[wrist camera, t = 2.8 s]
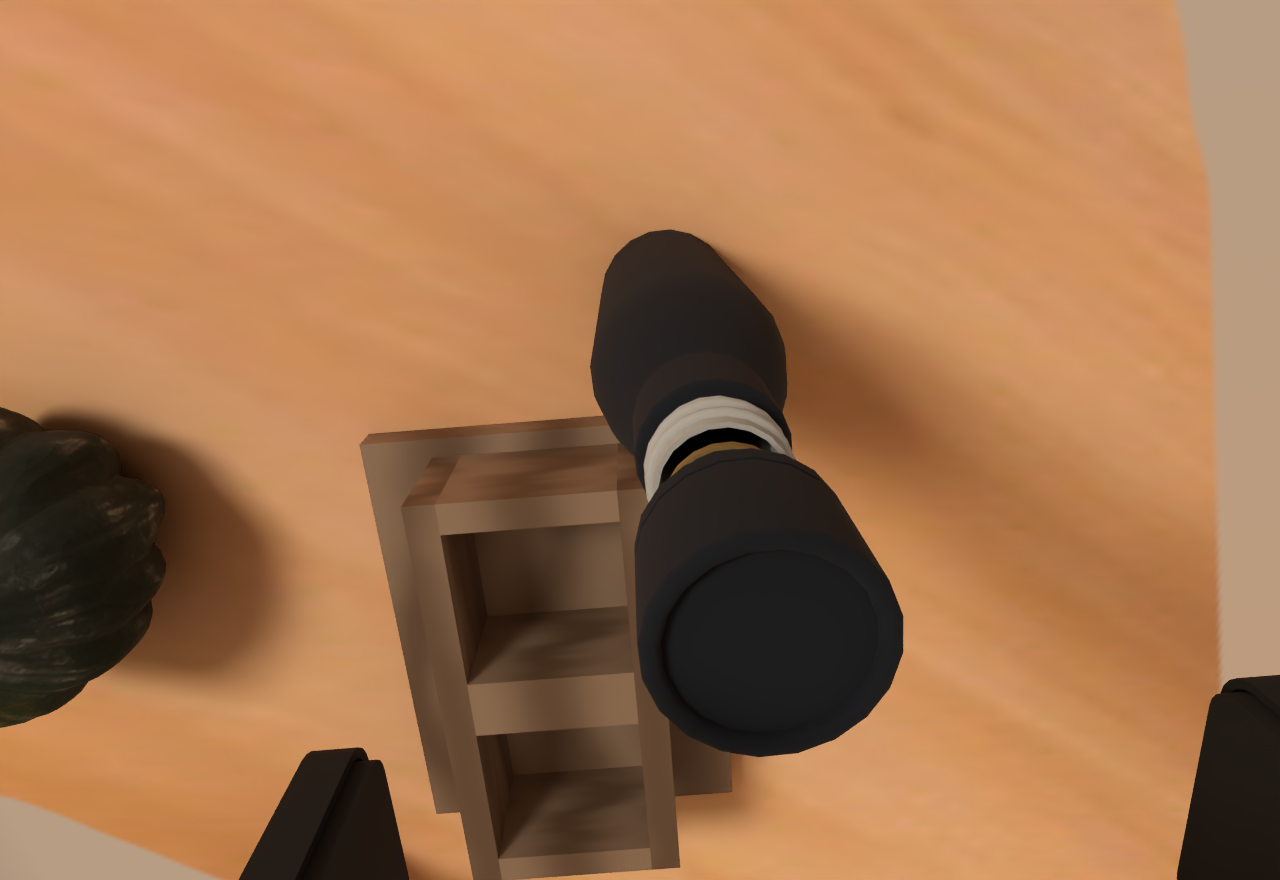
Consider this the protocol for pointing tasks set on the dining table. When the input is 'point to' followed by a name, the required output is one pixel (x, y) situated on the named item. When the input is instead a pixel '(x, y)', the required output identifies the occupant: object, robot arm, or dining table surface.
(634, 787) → the bottle rack
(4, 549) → the squash
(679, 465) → the wine bottle
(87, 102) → the dining table surface
